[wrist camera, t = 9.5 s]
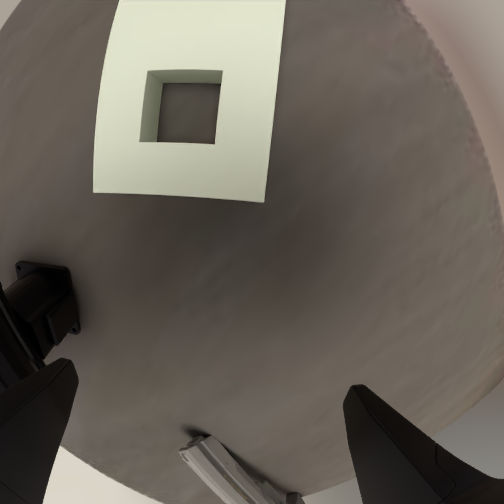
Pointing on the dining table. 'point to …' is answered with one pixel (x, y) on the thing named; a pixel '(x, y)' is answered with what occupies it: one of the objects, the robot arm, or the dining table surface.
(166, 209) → the dining table surface
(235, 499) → the handgun
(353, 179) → the dining table surface
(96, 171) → the socket block
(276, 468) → the dining table surface
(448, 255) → the dining table surface
